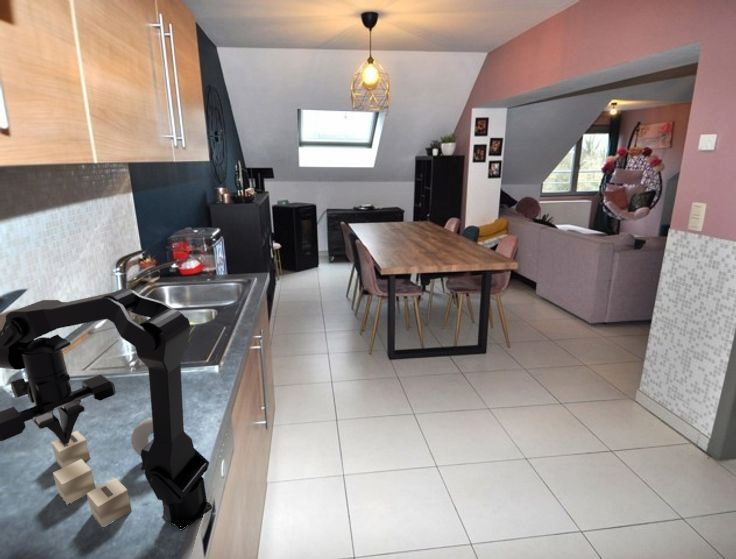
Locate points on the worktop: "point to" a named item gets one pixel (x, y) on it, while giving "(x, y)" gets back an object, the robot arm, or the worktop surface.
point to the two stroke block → (71, 450)
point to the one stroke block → (109, 502)
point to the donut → (142, 435)
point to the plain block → (74, 481)
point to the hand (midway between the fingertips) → (65, 443)
